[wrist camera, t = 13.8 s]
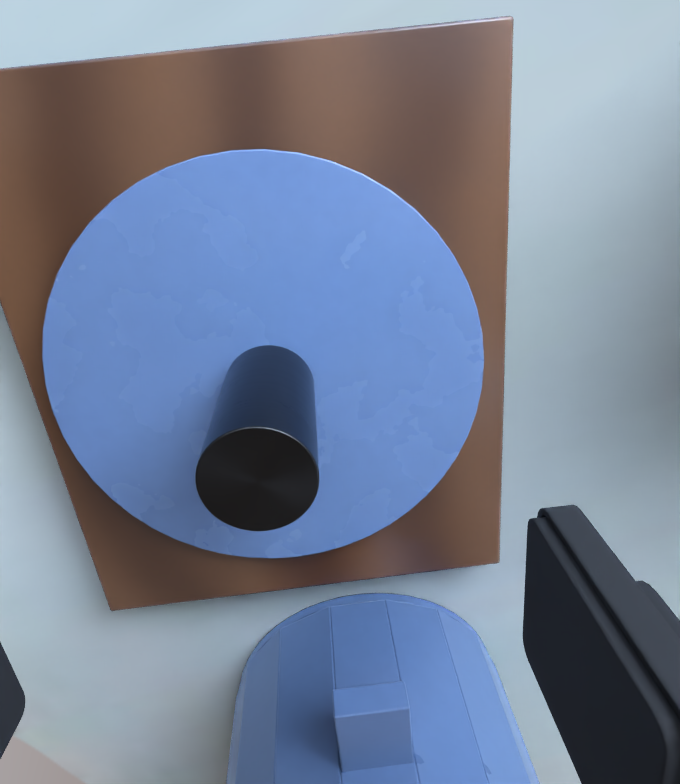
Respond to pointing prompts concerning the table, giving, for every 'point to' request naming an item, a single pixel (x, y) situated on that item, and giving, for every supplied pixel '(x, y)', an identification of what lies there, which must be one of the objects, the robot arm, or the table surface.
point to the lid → (262, 353)
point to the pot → (374, 700)
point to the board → (285, 133)
